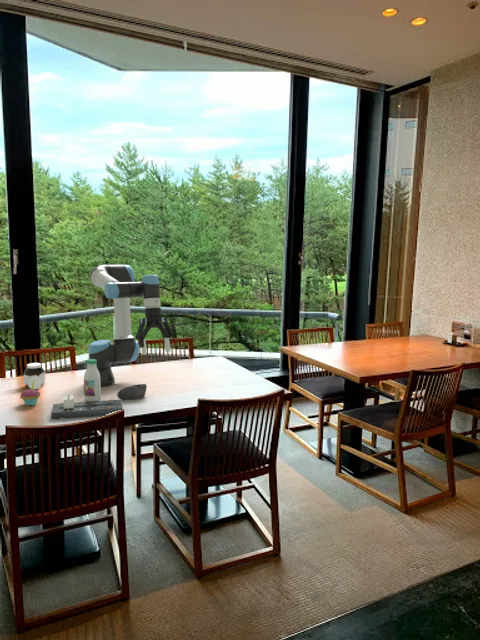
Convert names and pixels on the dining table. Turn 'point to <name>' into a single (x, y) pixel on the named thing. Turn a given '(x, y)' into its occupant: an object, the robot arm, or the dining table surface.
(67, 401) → the fader knob
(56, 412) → the fader console
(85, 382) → the milk bottle
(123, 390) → the perforated stone tool
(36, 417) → the dining table surface
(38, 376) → the spread jar
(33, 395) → the cupcake
